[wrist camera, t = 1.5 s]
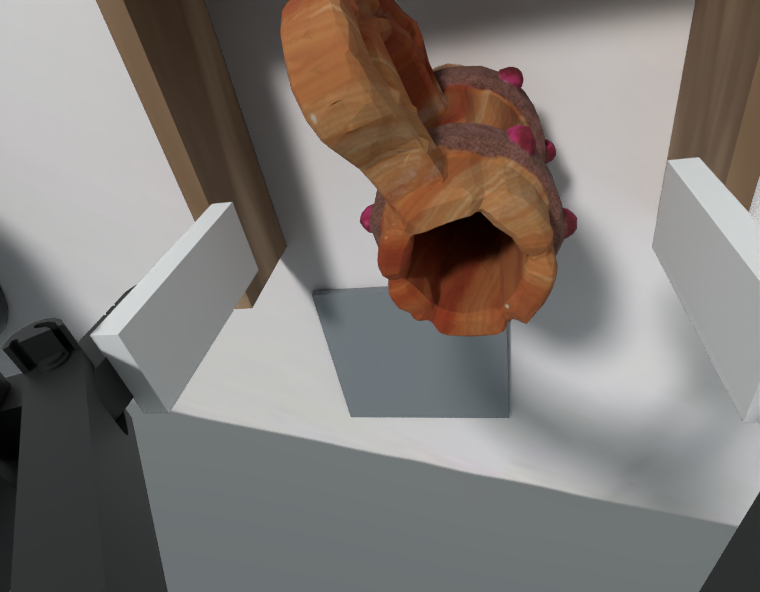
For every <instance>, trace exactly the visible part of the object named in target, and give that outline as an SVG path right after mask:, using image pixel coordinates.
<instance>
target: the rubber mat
mask: <svg viewBox="0 0 760 592" xmlns="http://www.w3.org/2000/svg"><path fill="white" fill-rule="evenodd" d="M312 297H313V300H314V303H315V307H316V310H317V313H318V316H319V319H320V322H321V325H322V328H323V332H324V335H325V338H326V341H327V344H328V347H329V350H330V353H331V356H332V360H333V363H334V366H335V369H336V372H337V375H338V378H339V381H340V384H341V388H342V391H343V394H344V397H345V400H346V403H347V406H348V409H349V413H350V416H351V417H428V418H509V393H508V358H507V326H506V328H505V331H503V332H501V333H500V334H498V335H487V336H475V337H468V336H447V335H445V334H442V333H439V331H438V330H437V329H436V327H435V326H434V324H433V323H432V322H430V321H428V320H424V321H417V320H415V319H414V318H413V317H412V315H411V314H410V313H408V312H406V311H403V310H401V309H399V308H398V307H397V306H396V304H395V303H394V302H393V301H392V299H391V297H390V295H389V293H388V287H371V288H354V289H336V290H318V291H314V292H313V294H312Z"/></svg>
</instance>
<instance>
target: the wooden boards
mask: <svg viewBox="0 0 760 592" xmlns="http://www.w3.org/2000/svg"><path fill="white" fill-rule="evenodd" d="M96 2H97V4H98V6H99V8H100V11H101V13H102V15H103V17H104V20H105V22H106V24H107V26H108V29H109V31H110V33H111V35H112V37H113V40H114V42H115V44H116V46H117V49H118V51H119V53H120V55H121V58H122V60H123V62H124V64H125V67H126V69H127V71H128V73H129V75H130V78H131V80H132V82H133V84H134V87H135V89H136V91H137V93H138V96H139V98H140V100H141V102H142V105H143V107H144V109H145V111H146V113H147V116H148V118H149V120H150V122H151V125H152V127H153V129H154V131H155V134H156V136H157V138H158V140H159V143H160V145H161V147H162V149H163V151H164V154H165V156H166V158H167V160H168V163H169V165H170V167H171V169H172V172H173V174H174V176H175V178H176V180H177V183H178V185H179V187H180V189H181V192H182V194H183V196H184V198H185V201H186V203H187V205H188V207H189V210H190V212H191V214H192V216H193V218H194V221H195V222H196V221H197V219H198V218H199V217H200V216H201V215H202V214H203V213H204V212H205V211H206V210H207V209H208V208H209V207H210V205H211V204H216V203H226V202H233V205H234V207H235V210H236V213H237V215H238V218H239V220H240V223H241V226H242V228H243V231H244V233H245V236H246V239H247V241H248V244H249V246H250V249H251V252H252V254H253V257H254V259H255V262H256V265H257V267H258V272H257V273H256V275H255V277H254V278H253V280H252V281H251V283H250V285H249V286H248V288H247V289H246V291H245V293H244V294H243V296H242V297H241V299H240V301H239V302H238V304H237V305H236V307H235V309H245V308H253V306H254V304H255V302H256V300H257V299H258V297H259V295H260V293H261V291H262V290H263V288H264V286H265V284H266V282H267V281H268V279H269V277H270V275H271V274H272V272H273V270H274V268H275V266H276V265H277V263H278V261H279V259H280V257H281V256H282V254H283V252H284V250H285V248H286V247H287V246H286V243H285V240H284V237H283V234H282V231H281V228H280V225H279V222H278V219H277V217H276V214H275V211H274V208H273V205H272V202H271V199H270V196H269V193H268V190H267V187H266V184H265V181H264V178H263V175H262V172H261V169H260V166H259V163H258V160H257V157H256V154H255V151H254V148H253V145H252V142H251V139H250V136H249V133H248V130H247V127H246V124H245V121H244V118H243V115H242V112H241V109H240V106H239V103H238V100H237V97H236V94H235V91H234V88H233V85H232V82H231V79H230V76H229V73H228V70H227V67H226V64H225V61H224V58H223V55H222V52H221V49H220V46H219V43H218V40H217V37H216V34H215V31H214V28H213V25H212V22H211V19H210V16H209V13H208V10H207V7H206V4H205V1H204V0H96ZM697 157H699V158H700V159H701V160H702V161H703V162H704V163H705V165H706V166H707V167H708V168H709V169H710V170H711V171H712V172H713V173H714V174H715V176H716V177H717V178H718V179H719V180H720V181H721V182H722V183H723V184H724V186H725V187H726V188H727V189H728V190H729V191H730V192H731V193H732V194H733V196H734V197H735V198H736V199H737V200H738V201H739V202H740V203H741V204H742V205H743V207H744V208H745V209H746V210H747V211H748V212H749V209H750V206H751V202H752V199H753V196H754V192H755V189H756V186H757V182H758V179H759V176H760V0H696V1H695V7H694V12H693V18H692V23H691V29H690V35H689V40H688V46H687V51H686V57H685V63H684V68H683V74H682V80H681V85H680V91H679V96H678V102H677V108H676V113H675V119H674V125H673V130H672V136H671V141H670V147H669V153H668V158H667V160H676V159H686V158H697ZM666 165H667V164H666ZM665 171H666V169H665ZM664 176H665V175H664ZM663 182H664V181H663ZM662 188H663V186H662ZM661 193H662V192H661ZM660 199H661V198H660ZM659 205H660V203H659ZM658 210H659V209H658ZM657 216H658V214H657Z"/></svg>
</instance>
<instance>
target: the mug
mask: <svg viewBox="0 0 760 592" xmlns="http://www.w3.org/2000/svg"><path fill="white" fill-rule="evenodd" d="M280 36H281V42H282V48H283V54H284V60H285V64H286V68H287V73H288V77H289V81H290V86H291V90H292V92H293V94H294V96H295V98H296V100H297V103H298V105H299V107H300V109H301V111H302V113H303V115H304V117H305V119H306V121H307V122H308V124H309V125H310V126H311V128H312V129H313V130H314V132H315V133H316V134H317V136H318V137H319V138H320V140H321V141H322V142H323V143H324V144H326V145H327V146H328V147H329V148H331V149H332V150H333V151H335V152H336V153H338V154H339V155H340V156H342V157H343V158H345V159H346V160H347V161H349V162H350V163H352V164H353V165H354V166H356V167H357V168H359V169H360V170H361V171H362V172H363V173H364V174H365V176H366V177H367V178H368V179H369V180H370V181H371V182H372V183H373V184H374V185H375V187H376V188H377V193H376V198H375V203H374V204H372V205H370V206H368V207H367V208H366V209H365V210H364V211H363V212H362V215H361V217H360V223H361V224H362V226H363V227H364V228H365V229H366V230H367V231H368V232H369V233H373V235H374V237H375V240H376V243H377V245H378V248H379V249H378V260H377V261H378V267H379V269H380V271H381V273H382V275H383V276H384V277H386V278H387V279H388V293H389V295H390V297H391V299H392V301H393V302H394V303H395V304H396V306H397V307H398V308H399V309H401V310H403V311H406V312H408V313H410V314H411V315H412V317H413V318H414V319H415V320H417V321H424V320H428V321H430V322H432V323H433V324H434V326H435V327H436V329H437V330H438V331H439V333H442V334H445V335H447V336H468V337H475V336H487V335H498V334H500V333H501V332H503V331H505V328H506V326H507V323H508V322H509V321H510V320H511V319H516V320H519V321H521V322H523V323H526V324H527V323H528V322H529V320H530V319H531V318H532V317H533V316H534V314H535V313H536V312H537V311H538V310H539V309H540V307H541V306H542V305H543V304H544V303H545V301H546V299H547V298H548V296H549V294H550V292H551V290H552V288H553V285H554V282H555V279H556V276H557V261H556V255H557V253H558V250H559V248H560V246H561V244H562V242H563V240H564V239H565V238H567V237H569V236H570V235H572V234H573V233H574V231H575V230H576V229H577V217H576V216H575V215H574V214H573V213H572V212H571V211H570V210H568V209H565V208H562V204H561V201H560V198H559V195H558V192H557V189H556V186H555V183H554V180H553V177H552V174H551V172H550V171H549V169H548V167H547V166H546V164H545V163H548V162H550V161H552V160H553V158H554V157H555V155H556V149H555V147H554V144H553V143H552V142H550V141H549V140H546V139H545V138H544V133H543V130H542V127H541V124H540V121H539V117H538V115H537V113H536V110H535V107H534V105H533V104H532V102H531V101H530V99H529V98H528V96H527V95H526V93H525V91H524V90H523V89H522V88H521V87H522V84H523V76H522V72H521V71H520V70H519V69H518V68H515V67H507V68H504V69H501V70H500V71H499V72H498V71H495V70H492V69H489V68H486V67H483V66H462V65H456V64H445V65H442V66H439V67H436V68H434V69H432V68H431V66H430V63H429V61H428V57H427V53H426V49H425V45H424V41H423V38H422V35H421V32H420V29H419V27H418V24H417V22H415V21H414V20H413V19H412V18H411V17H409V16H408V15H407V14H406V13H405V12H403V10H402V9H401V8H400V7H399V6H398V4H397V3H396V2H395V1H394V0H289V1H288V2H287V3H286V5H285V7H284V8H283V10H282V19H281V30H280Z"/></svg>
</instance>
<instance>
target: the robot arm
mask: <svg viewBox="0 0 760 592" xmlns="http://www.w3.org/2000/svg"><path fill="white" fill-rule="evenodd" d="M652 248H653V250H654V251H655V253H656V255H657V257H658V259H659V261H660V263H661V265H662V267H663V269H664V271H665V273H666V275H667V277H668V278H669V280H670V282H671V284H672V286H673V288H674V290H675V292H676V294H677V296H678V298H679V300H680V302H681V304H682V306H683V307H684V309H685V311H686V313H687V315H688V317H689V319H690V321H691V323H692V325H693V327H694V329H695V331H696V333H697V334H698V336H699V338H700V340H701V342H702V344H703V346H704V348H705V350H706V352H707V354H708V356H709V358H710V360H711V361H712V363H713V365H714V367H715V369H716V371H717V373H718V375H719V377H720V379H721V381H722V383H723V385H724V387H725V388H726V390H727V392H728V394H729V396H730V398H731V400H732V402H733V404H734V406H735V408H736V410H737V412H738V414H739V415H740V417H741V419H742V421H743V423H760V224H759V223H758V222H757V221H756V220H755V219H754V218H753V217H752V215H751V214H750V213H749V212H748V211H747V210H746V209H745V208H744V207H743V205H742V204H741V203H740V202H739V201H738V200H737V199H736V198H735V197H734V196H733V194H732V193H731V192H730V191H729V190H728V189H727V188H726V187H725V186H724V184H723V183H722V182H721V181H720V180H719V179H718V178H717V177H716V176H715V174H714V173H713V172H712V171H711V170H710V169H709V168H708V167H707V166H706V165H705V163H704V162H703V161H702V160H701V159H700V158H699V157H697V158H686V159H676V160H667V165H666V171H665V176H664V182H663V188H662V193H661V199H660V205H659V210H658V216H657V221H656V227H655V233H654V238H653V244H652ZM257 272H258V267H257V265H256V262H255V259H254V257H253V254H252V252H251V249H250V246H249V244H248V241H247V239H246V236H245V233H244V231H243V228H242V226H241V223H240V220H239V218H238V215H237V213H236V210H235V207H234V205H233V202H226V203H216V204H211V205H210V207H209V208H208V209H207V210H206V211H205V212H204V213H203V214H202V215H201V216H200V217H199V218H198V219H197V221H196V222H195V223H194V224H193V225H192V226H191V227H190V228H189V229H188V230H187V231H186V232H185V233H184V235H183V236H182V237H181V238H180V239H179V240H178V241H177V242H176V243H175V244H174V245H173V246H172V247H171V249H170V250H169V251H168V252H167V253H166V254H165V255H164V256H163V257H162V258H161V259H160V260H159V261H158V263H157V264H156V265H155V266H154V267H153V268H152V269H151V270H150V271H149V272H148V273H147V274H146V275H145V277H144V278H143V279H142V280H141V281H140V282H139V283H138V284H136V285H135V286H134V287H132V288H131V289H129V290H128V291H126V292H125V293H124V294H123V295H122V296H121V297H120V298H119V300H118V301H117V302H116V303H115V306H112V307H111V308H110V309H109V310H108V311H107V312H106V315H103V317H102V318H101V319H100V320H99V321H98V322H97V323H96V324H95V325H94V326H93V327H92V328H91V329H90V330H89V331H88V332H87V334H86V335H85V336H84V337H83V338H82V339H81V340H80V341H79V342H78V343H77V341H76V340H75V338H74V337H73V336H72V334H71V333H70V331H69V330H68V329H67V327H66V326H65V325H64V323H63V322H62V320H60V319H56V318H52V319H44V320H41V321H38V322H35V323H33V324H31V325H29V326H27V327H25V328H23V329H21V330H20V331H18V332H17V333H16V334H14V335H13V336H12V337H11V338H10V339H9V340H8V341H7V342H6V343H5V345H4V347H3V350H4V352H5V353H6V354H7V355H8V356H9V357H10V359H11V360H12V361H13V362H14V363H15V364H16V366H17V367H18V368H19V369H20V370H21V371H22V373H23V374H19V375H15V376H11V377H7V378H5V377H4V376H3V375H2V374H1V373H0V592H168V591H167V586H166V582H165V576H164V571H163V567H162V562H161V557H160V552H159V547H158V542H157V538H156V533H155V529H154V523H153V518H152V514H151V509H150V504H149V499H148V494H147V489H146V484H145V480H144V475H143V470H142V465H141V460H140V455H139V451H138V446H137V441H136V436H135V431H134V427H133V422H132V418H131V416H130V415H129V413H128V412H127V410H126V409H125V408H126V407H127V406H128V404H129V403H130V401H131V400H132V399H133V398H134V400H135V401H136V403H137V404H138V405H139V407H140V408H141V410H142V411H143V413H170V411H171V409H172V408H173V406H174V405H175V403H176V401H177V400H178V398H179V397H180V395H181V393H182V392H183V390H184V389H185V387H186V385H187V384H188V382H189V381H190V379H191V377H192V376H193V374H194V373H195V371H196V369H197V368H198V366H199V365H200V363H201V361H202V360H203V358H204V357H205V355H206V353H207V352H208V350H209V349H210V347H211V345H212V344H213V342H214V341H215V339H216V337H217V336H218V334H219V333H220V331H221V329H222V328H223V326H224V325H225V323H226V321H227V320H228V318H229V317H230V315H231V313H232V312H233V310H234V309H235V307H236V305H237V304H238V302H239V301H240V299H241V297H242V296H243V294H244V293H245V291H246V289H247V288H248V286H249V285H250V283H251V281H252V280H253V278H254V277H255V275H256V273H257ZM6 322H7V306H6V302H5V299H4V297H3V294H2V292H1V290H0V332H1V331H2V330H3V329H4V327H5V325H6ZM699 592H760V492H759V494H758V496H757V497H756V499H755V501H754V502H753V504H752V505H751V507H750V509H749V510H748V512H747V514H746V515H745V517H744V519H743V520H742V522H741V524H740V525H739V527H738V529H737V530H736V532H735V534H734V535H733V537H732V539H731V540H730V542H729V544H728V545H727V547H726V548H725V550H724V552H723V553H722V555H721V557H720V558H719V560H718V562H717V563H716V565H715V567H714V568H713V570H712V572H711V573H710V575H709V577H708V578H707V580H706V581H705V583H704V585H703V586H702V588H701V590H700V591H699Z"/></svg>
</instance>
